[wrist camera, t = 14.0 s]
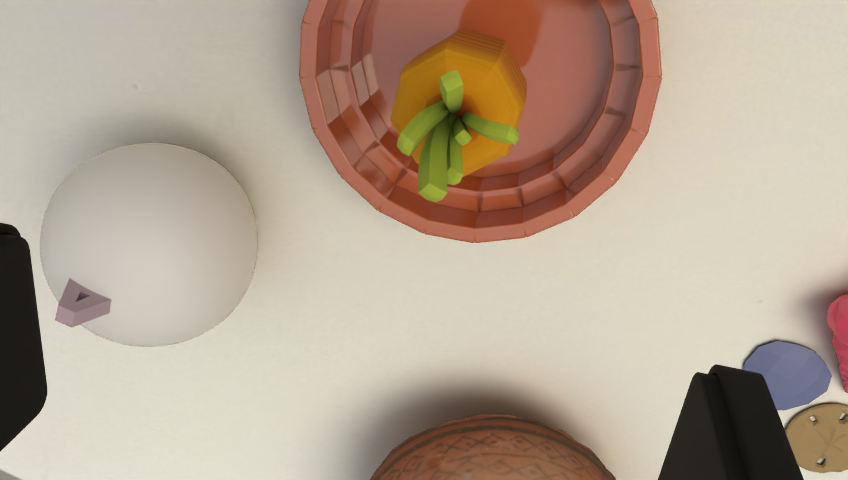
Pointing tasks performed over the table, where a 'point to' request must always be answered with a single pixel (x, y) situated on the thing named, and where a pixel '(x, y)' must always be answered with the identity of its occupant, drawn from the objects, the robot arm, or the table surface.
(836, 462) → the toy pieces
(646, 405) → the table surface
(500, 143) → the carrot
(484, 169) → the terracotta bowl
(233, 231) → the ornament
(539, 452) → the bowl
